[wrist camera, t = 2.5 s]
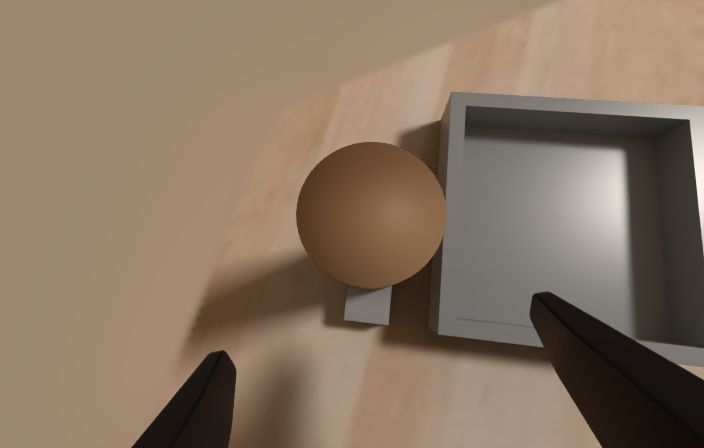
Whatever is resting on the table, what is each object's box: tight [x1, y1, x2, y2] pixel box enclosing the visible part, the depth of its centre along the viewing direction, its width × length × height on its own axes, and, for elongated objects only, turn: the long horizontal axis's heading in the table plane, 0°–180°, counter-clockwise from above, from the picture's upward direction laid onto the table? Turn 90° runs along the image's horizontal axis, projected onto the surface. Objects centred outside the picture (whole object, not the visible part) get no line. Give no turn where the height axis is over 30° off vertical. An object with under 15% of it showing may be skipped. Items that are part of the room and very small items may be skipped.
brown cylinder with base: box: [296, 142, 446, 325], centre depth 14 cm, size 7×4×12 cm, turn 174°
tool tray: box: [428, 92, 704, 367], centre depth 18 cm, size 13×13×3 cm
